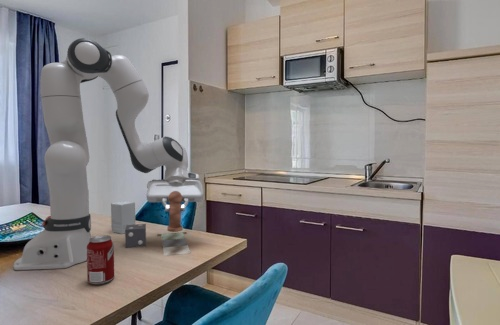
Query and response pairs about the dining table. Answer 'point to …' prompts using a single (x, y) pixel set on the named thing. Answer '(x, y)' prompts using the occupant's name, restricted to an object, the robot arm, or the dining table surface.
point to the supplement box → (122, 215)
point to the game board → (174, 243)
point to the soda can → (100, 260)
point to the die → (135, 235)
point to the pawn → (175, 212)
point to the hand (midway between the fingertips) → (175, 210)
